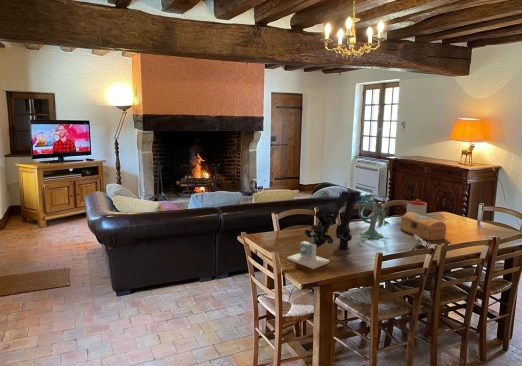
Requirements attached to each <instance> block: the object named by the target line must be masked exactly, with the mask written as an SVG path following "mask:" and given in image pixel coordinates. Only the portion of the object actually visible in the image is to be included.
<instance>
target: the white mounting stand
mask: <svg viewBox="0 0 522 366" xmlns="http://www.w3.org/2000/svg"><path fill="white" fill-rule="evenodd" d="M302 242H303V243H306V244H309V245H311V257H306V256H303V255H300V252H298V253H295V254H292V255H290V256H286V257H287V261H290V262H293V263H296V264H299V265H302V266H305V267H307V268H310V269H312V270H314V269H317V268H319V267H321V266H324V265H327V264H330V259H327V258H324V257H321V256H318V255H317V256H316V244H313V243H310V241H306V240H303V241H301V242H300V243H302ZM304 252H306V253H307V250H306V251H304Z"/></svg>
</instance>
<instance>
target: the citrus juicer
mask: <svg viewBox="0 0 522 366" xmlns="http://www.w3.org/2000/svg"><path fill="white" fill-rule="evenodd" d="M427 205H428V203H427V202H424V201H420V200H419V199H415V200H410V202H408V201H407V202H406V205H405V208H406V213H408V212H413V213H416V214H419V215H423V216H426V217H427V207H428V206H427Z"/></svg>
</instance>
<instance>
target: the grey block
mask: <svg viewBox="0 0 522 366" xmlns="http://www.w3.org/2000/svg"><path fill="white" fill-rule="evenodd" d="M317 241H318V238H317V237H311V238H309V243H313V244H316V243H317ZM301 250H302V251H306V250H307V248H306V247H302V248H301ZM316 256H318V248H316Z"/></svg>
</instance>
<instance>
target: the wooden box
mask: <svg viewBox="0 0 522 366" xmlns="http://www.w3.org/2000/svg"><path fill="white" fill-rule="evenodd" d="M400 231H402V232H405V233H407V232H408V234H410V233H411V234H410V235H413V234H414V233H415V235H416V234H417V235H418V236H420V237H421V238H424V239H423V240H425V239H427V240H426V241H428V240H432V241H438V240H439V239H441V240H445V239H446V235H447V234H446V233H447V225H446V224H445V222H442V221H440V220H437V219H434V218H431V217H428V216H427V215H426V216H423V215H419V214H416V213H413V212H408V213H407V212H405V213H404V215H402V216H401V221H400Z"/></svg>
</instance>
